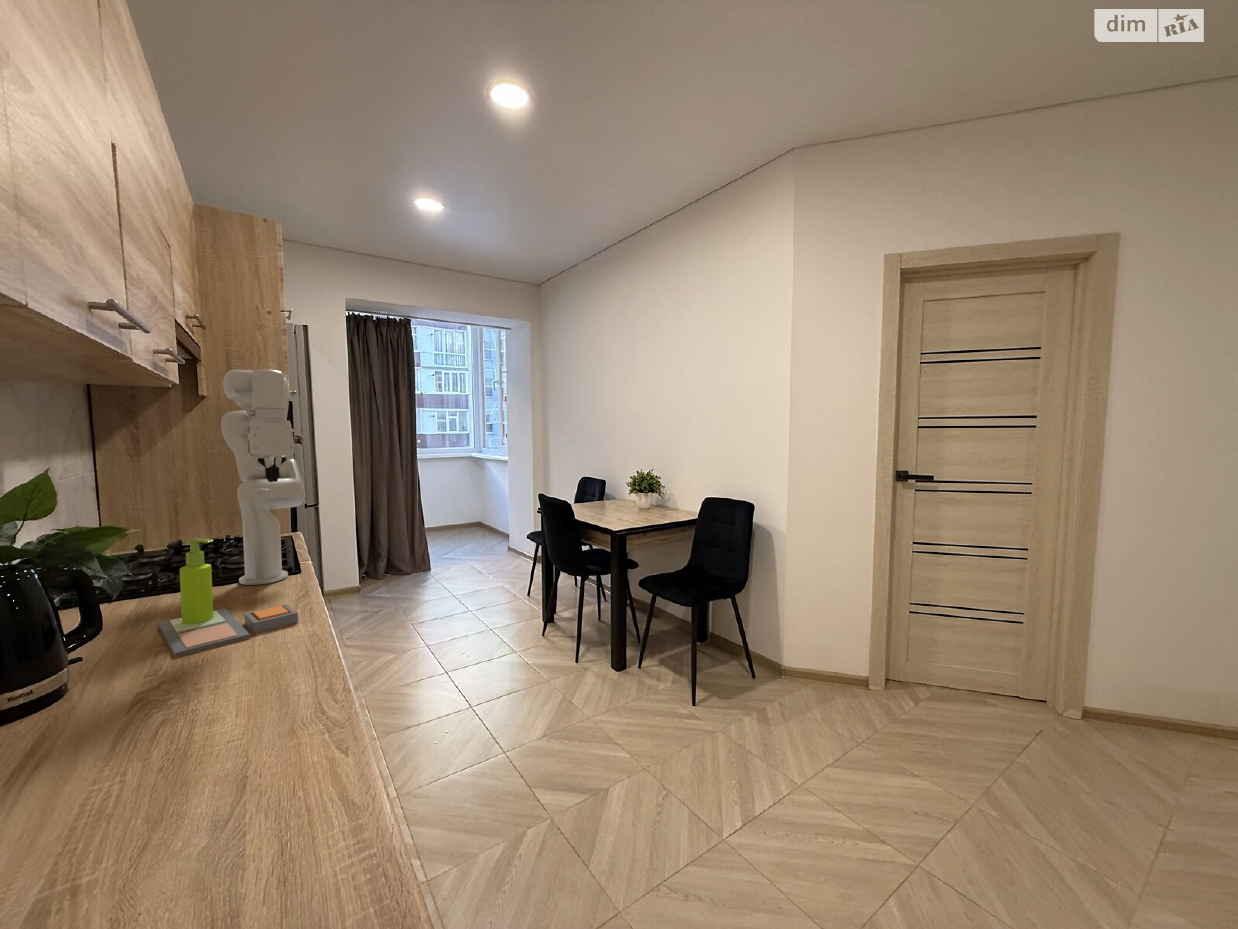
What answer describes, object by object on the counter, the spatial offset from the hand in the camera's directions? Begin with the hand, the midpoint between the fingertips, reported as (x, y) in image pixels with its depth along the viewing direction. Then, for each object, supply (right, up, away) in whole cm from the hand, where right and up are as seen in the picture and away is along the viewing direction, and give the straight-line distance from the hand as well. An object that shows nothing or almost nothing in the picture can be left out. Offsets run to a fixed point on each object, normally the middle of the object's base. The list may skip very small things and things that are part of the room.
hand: (272, 481), depth 140 cm
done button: (+10, -34, -16) cm, 39 cm away
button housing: (+10, -35, -15) cm, 39 cm away
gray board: (-2, -35, -21) cm, 41 cm away
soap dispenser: (-6, -33, -17) cm, 38 cm away
